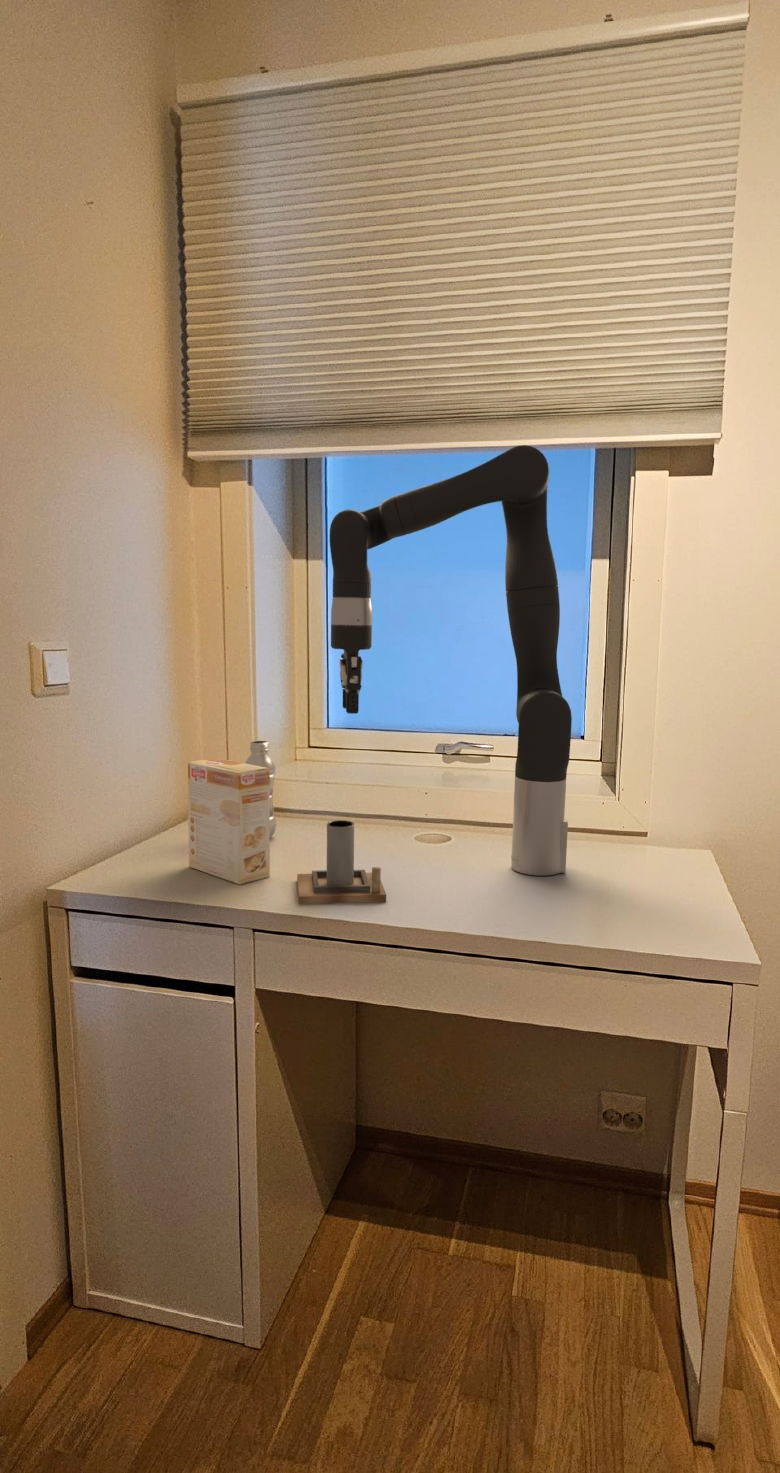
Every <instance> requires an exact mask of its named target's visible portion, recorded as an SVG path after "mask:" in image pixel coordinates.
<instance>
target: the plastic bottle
mask: <svg viewBox="0 0 780 1473" xmlns="http://www.w3.org/2000/svg"><path fill="white" fill-rule="evenodd" d="M269 744H270V742H269V741H267V740H254V741H253V740H252V741H250V748H249V752H251V753H250V755H249V756H248V757H247V759H245V762H244V763H245V764H250V765H255V766H261V767H266V768H270V838H271V837H273V836H274V834H275V832H276V829H277V828H276V827H277V824H276V816H275V812H274V802H273V801H274V800H273V798H274V795H273V793H274V782H275V776H276V765H275V763H274V760H273V758H272V757H271V756H270V755H269V752H270V748H269Z"/></svg>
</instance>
